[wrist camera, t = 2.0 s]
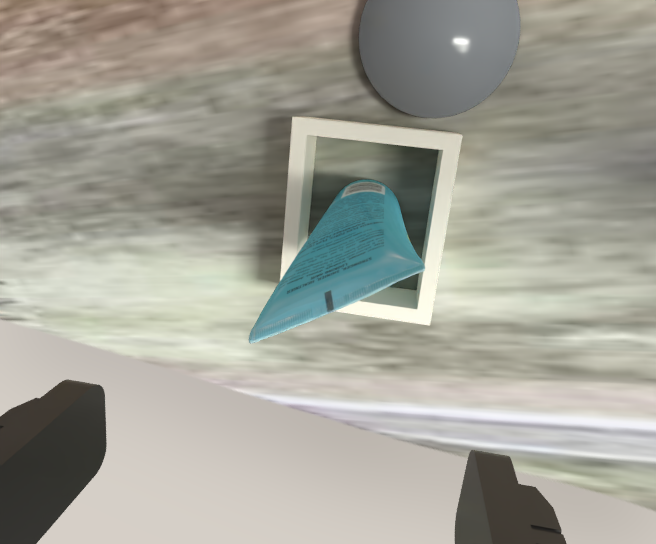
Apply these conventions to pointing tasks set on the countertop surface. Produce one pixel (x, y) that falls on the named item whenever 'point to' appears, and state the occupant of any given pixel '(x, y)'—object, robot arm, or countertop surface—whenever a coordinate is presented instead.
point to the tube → (342, 259)
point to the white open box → (421, 301)
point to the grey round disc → (438, 51)
